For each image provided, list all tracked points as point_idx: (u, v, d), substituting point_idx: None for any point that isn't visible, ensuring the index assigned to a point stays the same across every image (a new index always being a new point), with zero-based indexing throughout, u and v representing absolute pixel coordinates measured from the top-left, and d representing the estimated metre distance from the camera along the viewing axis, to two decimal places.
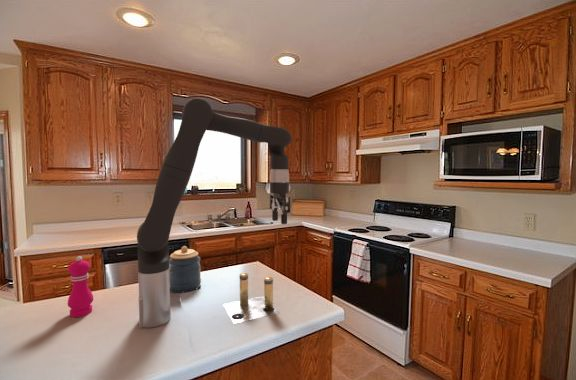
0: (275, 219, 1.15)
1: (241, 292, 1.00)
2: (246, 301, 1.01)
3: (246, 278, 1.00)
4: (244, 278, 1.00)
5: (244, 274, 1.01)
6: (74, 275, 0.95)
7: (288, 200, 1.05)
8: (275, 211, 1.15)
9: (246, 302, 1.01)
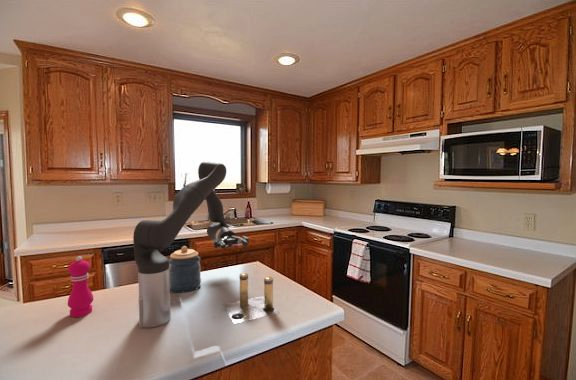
0: (225, 246, 1.09)
1: (241, 292, 1.00)
2: (246, 301, 1.01)
3: (246, 278, 1.00)
4: (244, 278, 1.00)
5: (244, 274, 1.01)
6: (74, 275, 0.95)
7: None
8: None
9: (246, 302, 1.01)
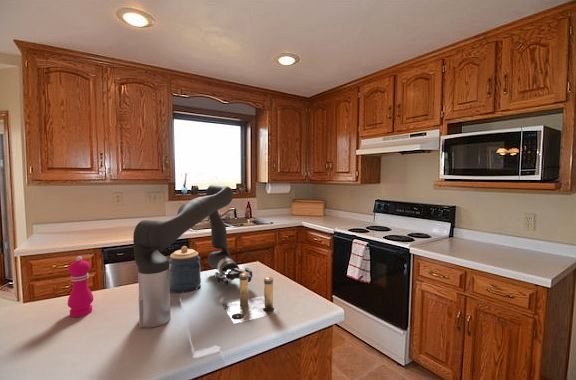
0: None
1: (241, 292, 1.00)
2: (246, 301, 1.01)
3: (246, 278, 1.00)
4: (244, 278, 1.00)
5: (244, 274, 1.01)
6: (74, 275, 0.95)
7: None
8: None
9: (246, 302, 1.01)
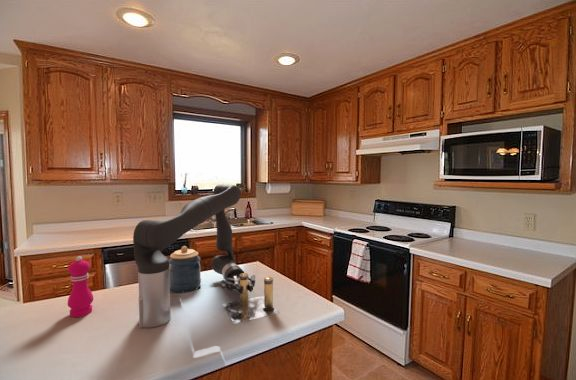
0: None
1: None
2: (246, 301, 1.01)
3: (246, 278, 1.00)
4: (244, 278, 1.00)
5: (244, 274, 1.01)
6: (74, 275, 0.95)
7: None
8: None
9: (246, 302, 1.01)
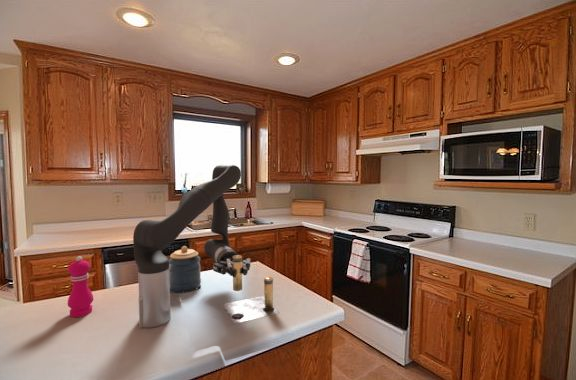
0: None
1: None
2: (240, 285, 0.92)
3: (240, 260, 0.91)
4: (237, 260, 0.91)
5: (238, 256, 0.92)
6: (74, 275, 0.95)
7: None
8: None
9: (240, 287, 0.92)
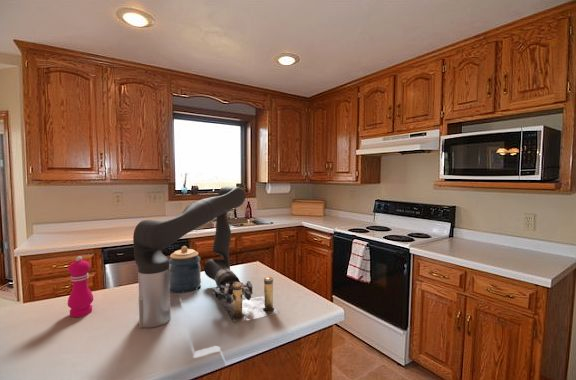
0: None
1: (234, 303, 0.92)
2: (240, 313, 0.92)
3: (240, 288, 0.92)
4: (237, 288, 0.91)
5: (238, 283, 0.92)
6: (74, 275, 0.95)
7: None
8: None
9: (240, 314, 0.92)
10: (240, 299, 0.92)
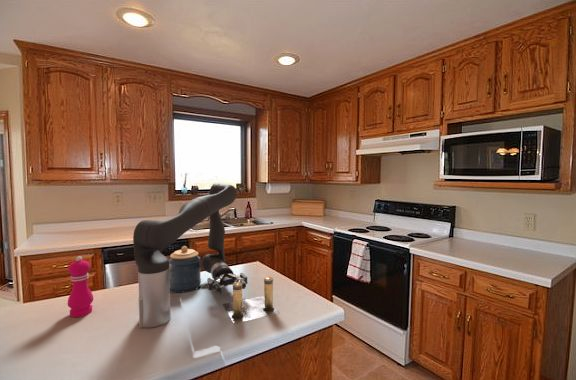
0: (220, 290, 0.98)
1: (234, 303, 0.92)
2: (240, 313, 0.92)
3: (240, 288, 0.92)
4: (238, 288, 0.91)
5: (238, 283, 0.92)
6: (74, 275, 0.95)
7: None
8: None
9: (240, 314, 0.92)
10: (240, 299, 0.92)
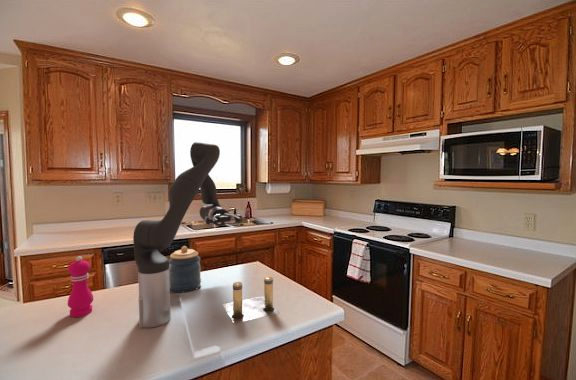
0: None
1: (234, 303, 0.92)
2: (240, 313, 0.92)
3: (240, 288, 0.92)
4: (238, 288, 0.91)
5: (238, 283, 0.92)
6: (74, 275, 0.95)
7: None
8: None
9: (240, 314, 0.92)
10: (240, 299, 0.92)
